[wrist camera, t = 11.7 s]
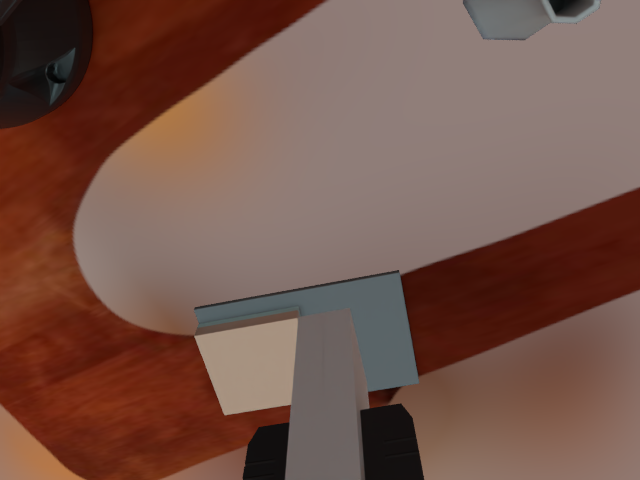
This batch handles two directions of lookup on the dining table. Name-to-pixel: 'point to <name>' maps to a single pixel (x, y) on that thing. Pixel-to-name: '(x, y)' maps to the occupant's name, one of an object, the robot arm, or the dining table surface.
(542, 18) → the flask
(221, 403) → the tile
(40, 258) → the dining table surface
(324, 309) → the mat
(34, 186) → the dining table surface
